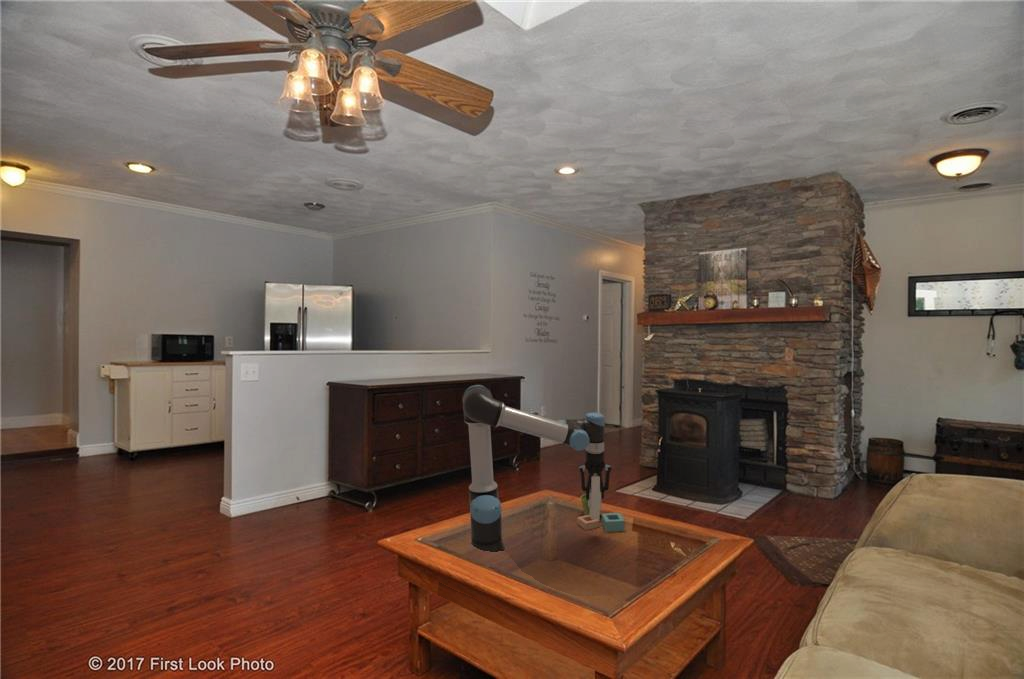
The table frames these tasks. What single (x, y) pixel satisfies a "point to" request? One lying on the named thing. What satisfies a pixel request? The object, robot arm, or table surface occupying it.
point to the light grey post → (595, 497)
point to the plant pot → (585, 505)
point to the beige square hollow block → (588, 522)
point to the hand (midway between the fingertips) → (594, 506)
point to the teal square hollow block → (613, 522)
